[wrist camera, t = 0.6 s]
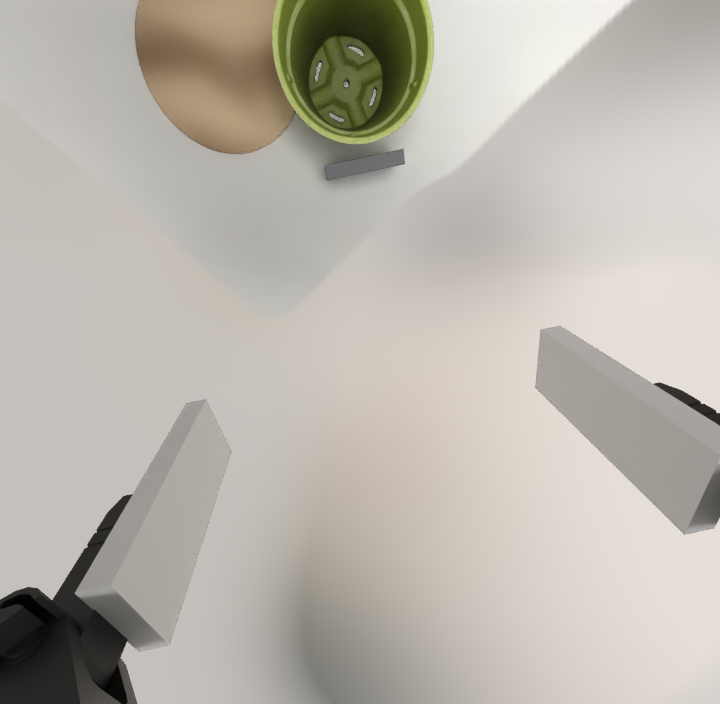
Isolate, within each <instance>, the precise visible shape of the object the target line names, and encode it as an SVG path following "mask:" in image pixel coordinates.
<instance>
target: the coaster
mask: <svg viewBox="0 0 720 704" xmlns="http://www.w3.org/2000/svg"><path fill="white" fill-rule="evenodd" d="M276 1H277V0H139V2H138V6H137V11H136V20H135V40H136V49H137V54H138V59H139V63H140V67H141V70H142V73H143V76H144V79H145V81H146V83H147V85H148V88H149V90H150V92H151V94H152V95H153V97H154V99H155V101H156V102H157V104H158V105H159V107H160V108H161V110H162V111H163V112H164V114H165V115H166V116H167V117H168V118H169V120H170V121H171V122H172V123H173V124H174V125H175V126H176V127H177V128H178V129H179V130H180V131H182V132H183V133H184V134H185V135H187V136H188V137H189V138H191V139H192V140H194V141H196V142H197V143H199V144H201V145H203V146H205V147H208V148H210V149H213V150H216V151H220V152H225V153H237V154H240V153H248V152H252V151H255V150H258V149H261V148H263V147H265V146H267V145H268V144H270V143H271V142H273V141H274V140H275V139H276V138H277V137H278V136H279V135H280V134H281V133H282V132H283V131H284V129H285V128H286V127H287V126H288V124H289V122H290V120H291V119H292V117H293V115H294V112H295V110H294V109H293V107H292V106H291V104H290V102H289V101H288V99H287V97H286V95H285V93H284V91H283V88H282V86H281V83H280V80H279V77H278V74H277V70H276V67H275V62H274V56H273V46H272V25H273V17H274V11H275V6H276Z"/></svg>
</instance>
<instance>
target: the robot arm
mask: <svg viewBox="0 0 720 704" xmlns="http://www.w3.org/2000/svg"><path fill="white" fill-rule="evenodd" d="M535 388H536V389H537V390H538V391H539V392H540V393H541V394H542V395H544V397H545V398H546V399H547V400H548V401H549V402H551V404H552V405H553V406H554V407H556V408H557V410H558V411H559V412H561V413H562V414H563V415H564V416H565V417H566V418H567V419H568V420H569V421H570V422H571V423H572V424H573V425H574V426H575V427H576V428H577V429H578V430H579V431H580V432H581V433H582V434H583V435H584V436H585V437H586V438H587V439H588V440H589V441H590V442H591V443H592V444H593V445H594V446H595V447H596V448H597V449H598V450H599V451H600V452H601V453H602V454H603V455H604V456H605V457H606V458H607V459H608V460H609V461H610V462H611V463H612V464H613V465H614V466H616V468H617V469H618V470H620V472H621V473H622V474H623V475H624V476H625V477H626V478H627V479H629V480H630V482H632V483H633V484H634V485H635V486H636V487H637V488H638V489H639V490H640V491H641V492H642V493H643V494H644V495H645V496H646V497H647V498H648V499H649V500H650V501H651V502H652V503H653V504H654V505H655V506H656V507H657V508H658V509H659V510H660V511H661V512H662V513H663V514H664V515H665V516H666V517H667V518H668V519H669V520H670V521H671V522H672V523H673V524H674V525H675V526H676V527H677V528H678V529H679V530H680V531H681V532H682V533H683V534H690V533H695V532H699V531H704V530H709V529H713V528H714V527H715V525H716V524H717V522H718V520H719V518H720V413H716V410H714V409H712V408H711V407H708V406H707V405H705V404H701V403H700V401H699V400H697V399H695V398H694V397H692V396H690V395H688V394H687V393H685V392H683V391H682V390H679V389H676V388H673V387H671V386H668V385H665V384H662V383H655V384H652V383H651V382H649V381H648V380H646V379H644V378H643V377H641V376H640V375H638V374H636V373H635V372H633V371H632V370H630V369H628V368H627V367H625V366H623V365H622V364H620V363H619V362H617V361H616V360H614V359H612V358H611V357H609V356H608V355H606V354H604V353H603V352H601V351H599V350H598V349H596V348H595V347H593V346H592V345H590V344H588V343H587V342H585V341H584V340H582V339H580V338H578V337H577V336H576V335H574V334H572V333H571V332H569V331H568V330H566V329H564V328H563V327H561V326H556V327H551V328H547V329H541V331H540V342H539V353H538V364H537V375H536V386H535ZM231 452H232V451H231V449H230V447H229V445H228V443H227V441H226V439H225V437H224V435H223V433H222V431H221V428H220V427H219V425H218V422H217V420H216V418H215V416H214V414H213V412H212V410H211V408H210V406H209V404H208V402H207V400H206V399H205V400H200V401H194V402H190V403H186V405H185V406H184V408H183V410H182V411H181V413H180V415H179V417H178V418H177V420H176V422H175V424H174V425H173V427H172V428H171V430H170V432H169V434H168V436H167V437H166V439H165V441H164V442H163V444H162V445H161V447H160V449H159V451H158V452H157V454H156V456H155V457H154V459H153V461H152V463H151V464H150V466H149V468H148V469H147V471H146V473H145V474H144V476H143V478H142V480H141V481H140V483H139V485H138V486H137V488H136V490H135V491H134V493H133V494H131V495H126V496H123V497H122V499H120V500H119V501H118V503H117V504H116V505H115V506H114V507H113V508H112V509H111V510H110V511H109V512H108V513H107V514H106V516H105V518H104V519H103V521H102V522H101V524H100V526H99V527H98V529H97V533H95V534H94V535H93V537H92V538H91V540H90V542H89V543H88V547H87V548H85V549H84V551H83V553H82V554H81V556H80V557H79V559H78V560H77V562H76V564H75V565H74V567H73V568H72V570H71V571H70V573H69V575H68V576H67V578H66V580H65V581H64V583H63V584H62V586H61V587H60V589H59V591H58V592H57V594H56V595H55V597H54V598H53V600H51V599H49V598H48V597H47V596H46V595H45V594H44V593H42V592H41V591H40V590H39V589H37V588H31V587H27V588H24V589H21V590H18V591H15V592H13V593H11V594H10V595H8V596H6V597H4V598H3V599H1V600H0V704H137V701H136V698H135V695H134V691H133V688H132V685H131V681H130V678H129V674H128V671H127V668H126V665H125V664H124V662H123V661H122V659H121V658H120V657H121V654H122V652H123V650H124V647H125V645H126V642H127V641H128V642H129V643H130V644H131V645H132V646H133V647H134V648H135V649H137V650H138V651H139V652H140V651H145V650H149V649H154V648H159V647H163V646H168V645H170V642H171V639H172V636H173V633H174V630H175V627H176V623H177V620H178V617H179V614H180V611H181V608H182V605H183V602H184V598H185V595H186V592H187V589H188V586H189V583H190V580H191V576H192V573H193V570H194V567H195V564H196V561H197V558H198V555H199V552H200V549H201V545H202V542H203V539H204V536H205V533H206V530H207V527H208V524H209V520H210V517H211V514H212V511H213V508H214V505H215V502H216V499H217V495H218V492H219V489H220V486H221V483H222V480H223V477H224V474H225V470H226V467H227V464H228V461H229V458H230V455H231Z"/></svg>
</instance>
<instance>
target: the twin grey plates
mask: <svg viewBox="0 0 720 704" xmlns="http://www.w3.org/2000/svg"><path fill="white" fill-rule="evenodd" d="M403 164H405V160H404V151H403V149H401V150H396V151H392V152H387V153H382V154H378V155H373V156H368V157H363V158H359V159H354V160H349V161H345V162H340V163H335V164H331V165H326V166H325V172H326V177H327V180H332V179H337V178H342V177H346V176H351V175H356V174H360V173H365V172H370V171H374V170H379V169H384V168H389V167H393V166H398V165H403Z"/></svg>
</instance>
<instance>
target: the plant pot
mask: <svg viewBox="0 0 720 704" xmlns="http://www.w3.org/2000/svg"><path fill="white" fill-rule="evenodd" d="M349 45H354V46H357V47H359V48H360V49H362V50H363V52H364V56H360V55H359V54H358V53H356V52H355V51H353V50H351V49H348V47H347V46H349ZM272 46H273V56H274V62H275V67H276V70H277V74H278V77H279V80H280V83H281V86H282V88H283V91H284V93H285V95H286V97H287V99H288V101H289V102H290V104H291V106H292V107H293V109H294V110H295V111H296V113H297V114H298V115H299V116H300V118H301V119H302V120H303V121H304V122H305V123H306V124H307V125H308V126H310V127H311V128H312V129H313V130H315V131H316V132H318V133H319V134H321V135H322V136H324V137H326V138H329V139H331V140H334V141H337V142H341V143H346V144H367V143H371V142H375V141H378V140H381V139H383V138H385V137H387V136H389V135H390V134H392V133H393V132H395V131H396V130H397V129H399V128H400V127H401V126H402V125H403V124H404V123H405V122H406V121H407V120H408V119H409V118H410V116H411V115H412V114H413V112H414V111H415V109H416V108H417V106H418V104H419V102H420V101H421V99H422V96H423V94H424V92H425V89H426V86H427V83H428V80H429V77H430V73H431V68H432V62H433V52H434V32H433V23H432V18H431V12H430V9H429V5H428V1H427V0H277V1H276V6H275V11H274V17H273V25H272ZM319 61H322V63H323V64H322V67H321V70H320V74H319V80H318V81H317V82H316V81H315V73H316V66H317V64H318V62H319ZM345 80H348V81H349V86H348V88H345V87H344V85H343V83H344V81H345ZM374 87H376V89H377V94H376V98H375V102H374V104H373V105H372V106H369V103H370V100H371V98H372V94H373V90H374ZM329 112H332V113H334V114H335V115H337V116H339V117H343V118H344V119H345V121H344V122H338V121H337V120H335V119H333V118H331V117H330V115H329Z"/></svg>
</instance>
